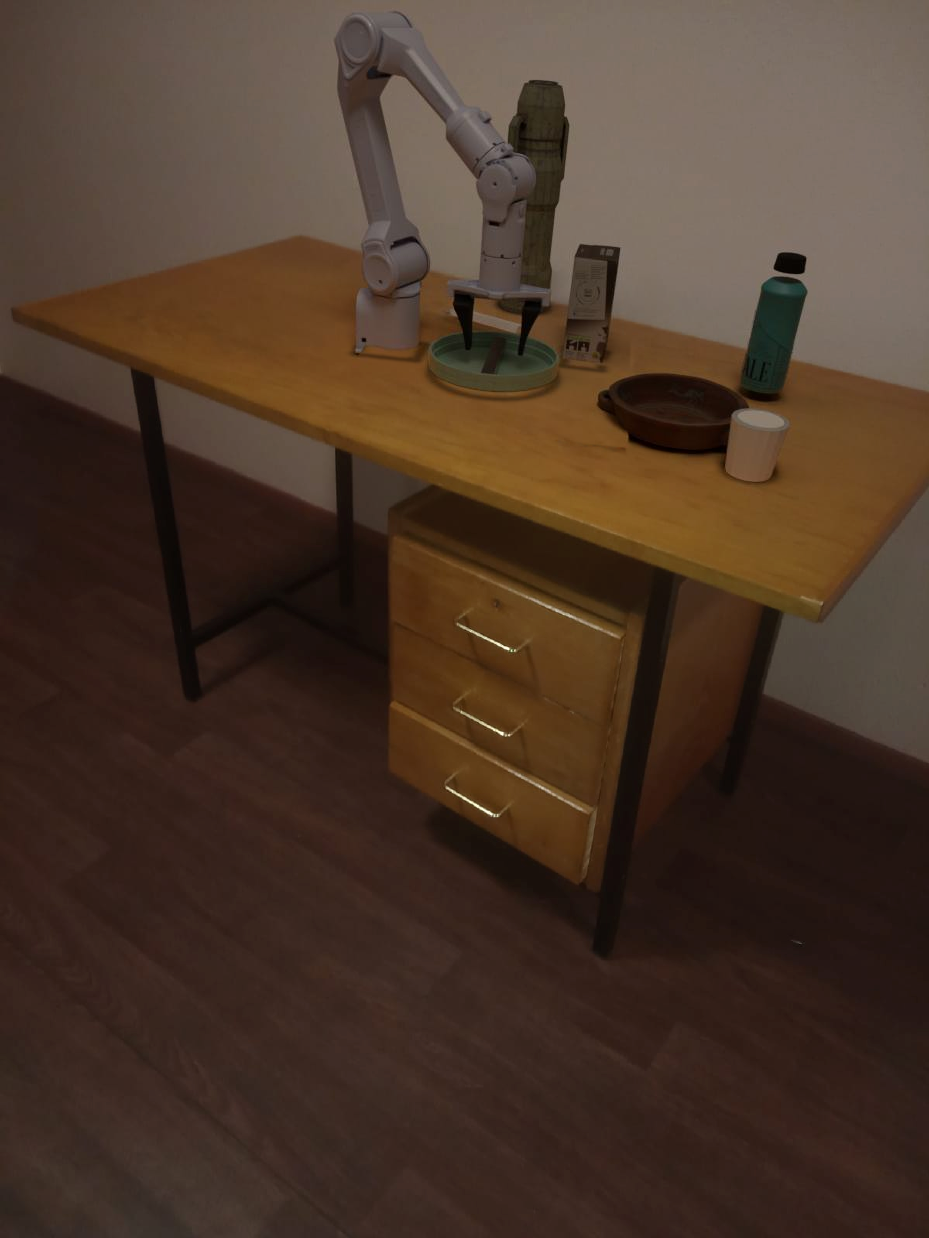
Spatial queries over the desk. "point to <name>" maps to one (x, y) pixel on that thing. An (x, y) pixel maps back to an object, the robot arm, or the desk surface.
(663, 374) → the dish
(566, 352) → the coffee box
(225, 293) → the desk surface
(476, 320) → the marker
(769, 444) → the white short cylinder
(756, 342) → the beverage bottle
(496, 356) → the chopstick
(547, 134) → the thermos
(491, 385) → the green round tray
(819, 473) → the desk surface
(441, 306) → the desk surface
